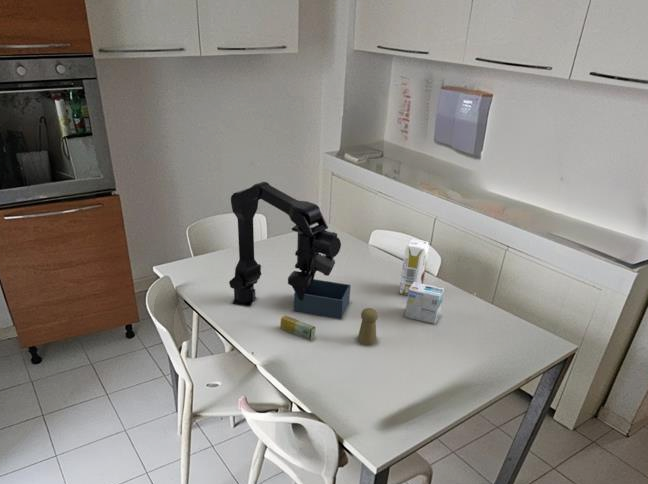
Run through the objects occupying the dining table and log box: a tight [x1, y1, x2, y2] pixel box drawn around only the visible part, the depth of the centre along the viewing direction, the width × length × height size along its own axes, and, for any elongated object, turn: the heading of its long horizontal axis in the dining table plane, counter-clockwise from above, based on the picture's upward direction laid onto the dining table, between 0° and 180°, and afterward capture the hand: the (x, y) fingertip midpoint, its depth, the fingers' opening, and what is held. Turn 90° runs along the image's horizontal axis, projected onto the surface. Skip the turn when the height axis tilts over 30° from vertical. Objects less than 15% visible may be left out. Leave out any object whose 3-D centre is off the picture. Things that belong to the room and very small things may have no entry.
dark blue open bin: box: [293, 278, 352, 320], centre depth 181 cm, size 17×12×7 cm
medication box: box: [279, 315, 316, 341], centre depth 167 cm, size 12×3×4 cm, turn 57°
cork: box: [357, 307, 379, 347], centre depth 162 cm, size 6×6×11 cm
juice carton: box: [399, 238, 430, 296], centre depth 189 cm, size 8×9×19 cm
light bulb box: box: [404, 282, 445, 325], centre depth 176 cm, size 11×7×11 cm, turn 65°
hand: (305, 293), depth 164 cm, fingers open, 9 cm apart
